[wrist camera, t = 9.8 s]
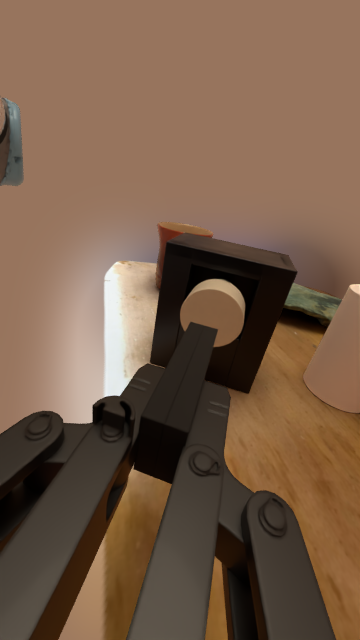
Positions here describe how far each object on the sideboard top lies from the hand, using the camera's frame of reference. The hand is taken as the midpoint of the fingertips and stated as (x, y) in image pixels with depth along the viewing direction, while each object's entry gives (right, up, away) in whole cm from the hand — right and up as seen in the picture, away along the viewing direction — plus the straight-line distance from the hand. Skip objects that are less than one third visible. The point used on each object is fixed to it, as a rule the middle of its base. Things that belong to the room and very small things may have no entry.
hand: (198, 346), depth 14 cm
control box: (+1, -3, +13) cm, 14 cm away
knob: (+2, +1, +8) cm, 8 cm away
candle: (+15, -6, +13) cm, 21 cm away
